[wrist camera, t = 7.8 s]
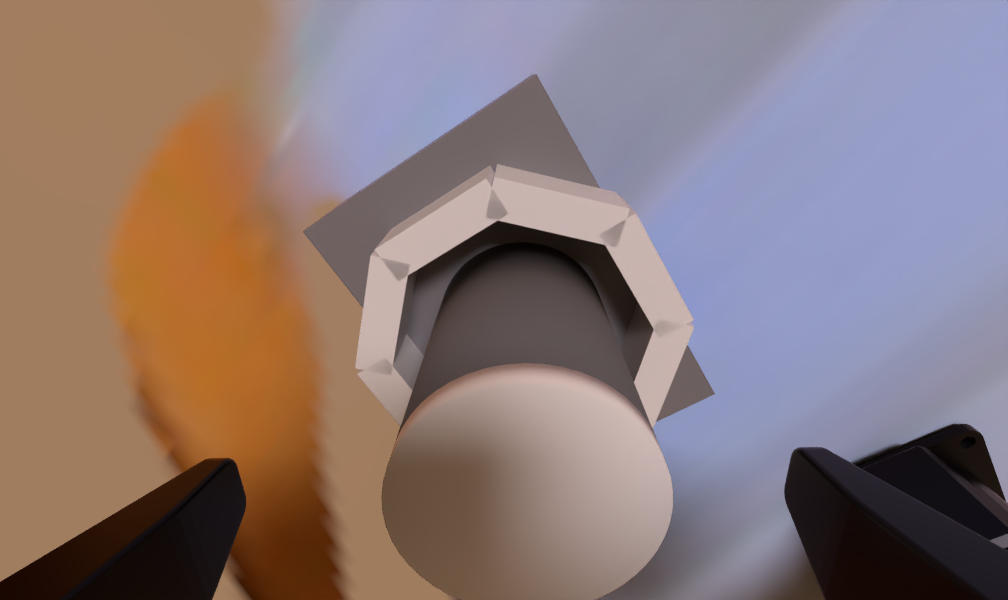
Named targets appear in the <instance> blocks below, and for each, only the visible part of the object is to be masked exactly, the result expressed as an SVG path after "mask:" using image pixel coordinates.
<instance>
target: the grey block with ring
mask: <svg viewBox="0 0 1008 600" xmlns="http://www.w3.org/2000/svg"><path fill="white" fill-rule="evenodd" d="M303 232H304V234H305V235H306V236H307V237H308V239H309V240H310V241H311V243H312V244H313V245H314V246H315V248H316V249H317V250H318V251H319V253H320V254H321V255H322V257H323V258H324V259H325V260H326V261H327V263H328V264H329V265H330V266H331V268H332V269H333V270H334V272H335V273H336V274H337V276H338V277H339V278H340V279H341V280H342V282H343V283H344V284H345V286H346V287H347V288H348V289H349V291H350V292H351V293H352V295H353V296H354V297H355V298H356V299H357V301H358V302H359V303H360V305H361V306H362V307H363V314H362V321H361V328H360V336H359V344H358V351H357V358H356V366H355V368H356V369H360V370H359V372H358V373H357V375H358V376H359V377H360V379H361V380H362V381H363V382H364V383H365V384H366V386H367V387H368V388H369V389H370V390H371V392H372V393H373V394H374V395H375V396H376V398H377V399H378V400H379V401H380V402H381V403H382V405H383V406H384V407H385V408H386V410H387V411H388V412H389V413H390V414H391V415H392V417H393V418H394V419H395V420H396V422H397V423H398V424H399V425H400V426H401V424H402V421H403V418H404V415H405V412H406V409H407V406H408V403H409V400H410V397H411V394H412V391H413V388H414V385H415V381H416V378H417V375H418V372H419V369H420V366H421V363H422V360H423V357H424V354H425V351H426V348H427V345H428V342H429V339H430V336H431V333H432V330H433V327H434V324H435V321H436V318H437V315H438V312H439V309H440V306H441V303H442V300H443V297H444V294H445V291H446V289H447V287H448V285H449V283H450V281H451V280H452V278H453V276H454V275H455V274H456V273H457V271H458V270H459V269H460V268H461V267H462V266H463V265H464V264H465V263H466V262H467V261H468V260H470V259H471V258H473V257H474V256H476V255H477V254H479V253H481V252H483V251H485V250H487V249H489V248H492V247H495V246H498V245H502V244H507V243H516V242H528V243H536V244H542V245H545V246H549V247H552V248H554V249H557V250H559V251H561V252H563V253H565V254H566V255H568V256H569V257H571V258H572V259H574V260H575V261H576V262H577V263H578V264H580V265H581V266H582V268H583V269H584V270H585V271H586V272H587V273H588V275H589V276H590V278H591V279H592V280H593V282H594V284H595V286H596V288H597V290H598V293H599V296H600V298H601V301H602V303H603V306H604V308H605V311H606V313H607V316H608V318H609V321H610V323H611V326H612V328H613V331H614V333H615V336H616V338H617V341H618V343H619V346H620V348H621V351H622V353H623V356H624V358H625V361H626V363H627V366H628V369H629V371H630V374H631V376H632V379H633V381H634V384H635V386H636V389H637V391H638V394H639V396H640V399H641V401H642V404H643V406H644V409H645V411H646V414H647V416H648V419H649V421H650V424H651V426H652V429H653V427H654V425H655V422H657V421H659V420H661V419H663V418H665V417H667V416H669V415H672V414H674V413H676V412H678V411H680V410H682V409H684V408H686V407H688V406H690V405H693V404H695V403H697V402H699V401H701V400H703V399H705V398H707V397H709V396H711V395H714V394H715V393H714V392H713V390H712V388H711V386H710V384H709V383H708V381H707V379H706V377H705V375H704V374H703V372H702V370H701V368H700V366H699V365H698V363H697V361H696V359H695V358H694V356H693V354H692V352H691V350H690V349H689V347H688V345H687V344H688V341H689V339H690V337H691V334H692V332H693V329H694V326H693V325H692V323H691V322H692V321H694V319H693V318H692V316H691V314H690V312H689V310H688V308H687V306H686V305H685V303H684V301H683V299H682V297H681V295H680V294H679V292H678V290H677V288H676V286H675V284H674V283H673V281H672V279H671V277H670V275H669V273H668V271H667V270H666V268H665V266H664V264H663V262H662V260H661V259H660V257H659V255H658V253H657V251H656V249H655V248H654V246H653V244H652V242H651V240H650V238H649V236H648V235H647V233H646V231H645V229H644V227H643V225H642V224H641V222H640V220H639V218H638V216H637V214H636V213H635V212H634V211H633V209H632V208H631V207H630V206H629V205H628V204H627V202H626V201H625V200H624V199H623V198H622V197H621V196H620V197H619V195H618V194H617V193H616V192H613V191H609V190H605V189H601V188H600V187H599V186H598V184H597V182H596V180H595V179H594V177H593V175H592V173H591V171H590V170H589V168H588V166H587V164H586V162H585V161H584V159H583V157H582V155H581V153H580V152H579V150H578V148H577V146H576V145H575V143H574V141H573V139H572V137H571V136H570V134H569V132H568V130H567V128H566V127H565V125H564V123H563V121H562V119H561V118H560V116H559V114H558V112H557V110H556V109H555V107H554V105H553V103H552V102H551V100H550V98H549V96H548V94H547V93H546V91H545V89H544V87H543V85H542V84H541V82H540V80H539V78H538V76H537V75H532V76H530V77H529V78H527V79H526V80H524V81H523V82H521V83H520V84H518V85H517V86H515V87H514V88H512V89H511V90H509V91H508V92H506V93H505V94H503V95H502V96H500V97H499V98H497V99H496V100H494V101H493V102H491V103H490V104H488V105H487V106H485V107H484V108H482V109H481V110H480V111H478V112H477V113H475V114H474V115H472V116H471V117H469V118H468V119H466V120H465V121H463V122H462V123H460V124H459V125H457V126H456V127H454V128H453V129H451V130H450V131H448V132H447V133H445V134H444V135H442V136H441V137H439V138H438V139H436V140H435V141H433V142H432V143H430V144H429V145H428V146H426V147H425V148H423V149H422V150H420V151H419V152H417V153H416V154H414V155H413V156H411V157H410V158H408V159H407V160H405V161H404V162H402V163H401V164H399V165H398V166H396V167H395V168H393V169H392V170H390V171H389V172H387V173H386V174H384V175H383V176H381V177H380V178H378V179H377V180H376V181H374V182H373V183H371V184H370V185H368V186H367V187H365V188H364V189H362V190H361V191H359V192H358V193H356V194H355V195H353V196H352V197H350V198H349V199H347V200H346V201H344V202H343V203H341V204H340V205H338V206H337V207H336V208H334V209H333V210H332V211H330V212H329V213H327V214H326V215H325V216H323V217H322V218H321V219H319V220H318V221H316V222H315V223H314V224H312V225H311V226H310V227H308V228H307V229H305V230H304V231H303Z"/></svg>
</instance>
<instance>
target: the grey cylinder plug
mask: <svg viewBox="0 0 1008 600" xmlns="http://www.w3.org/2000/svg"><path fill="white" fill-rule="evenodd" d="M382 510H383V516H384V520H385V524H386V528H387V530H388V532H389V535H390V537H391V540H392V542H393V543H394V545H395V547H396V548H397V550H398V551H399V553H400V554H401V556H402V557H403V558H404V559H405V560H406V562H407V563H408V564H409V566H411V567H412V568H413V569H414V570H415V571H416V572H417V573H418V574H419V575H420V576H421V577H423V578H424V579H425V580H426V581H428V582H429V583H431V584H432V585H433V586H435V587H437V588H438V589H440V590H442V591H443V592H445V593H447V594H449V595H451V596H453V597H456V598H458V599H460V600H595V599H598V598H600V597H602V596H604V595H606V594H608V593H610V592H612V591H614V590H615V589H617V588H618V587H620V586H622V585H623V584H625V583H626V582H627V581H629V580H630V579H631V578H632V577H634V576H635V575H636V574H637V573H638V572H639V571H640V570H641V569H642V568H643V567H644V566H645V565H646V564H647V563H648V562H649V561H650V560H651V558H652V557H653V556H654V554H655V553H656V552H657V550H658V549H659V547H660V545H661V543H662V541H663V539H664V538H665V535H666V533H667V530H668V527H669V524H670V520H671V515H672V510H673V489H672V482H671V477H670V474H669V471H668V467H667V464H666V462H665V459H664V457H663V454H662V452H661V449H660V447H659V444H658V441H657V439H656V436H655V434H654V431H653V429H652V426H651V424H650V421H649V419H648V416H647V414H646V411H645V409H644V406H643V404H642V401H641V399H640V396H639V394H638V391H637V389H636V386H635V384H634V381H633V379H632V376H631V374H630V371H629V369H628V366H627V363H626V361H625V358H624V356H623V353H622V351H621V348H620V346H619V343H618V341H617V338H616V336H615V333H614V331H613V328H612V326H611V323H610V321H609V318H608V316H607V313H606V311H605V308H604V306H603V303H602V301H601V298H600V296H599V293H598V290H597V288H596V286H595V284H594V282H593V280H592V279H591V278H590V276H589V275H588V273H587V272H586V271H585V270H584V269H583V268H582V266H581V265H580V264H578V263H577V262H576V261H575V260H574V259H572V258H571V257H569V256H568V255H566V254H565V253H563V252H561V251H559V250H557V249H554V248H552V247H549V246H545V245H542V244H536V243H528V242H516V243H507V244H502V245H498V246H495V247H492V248H489V249H487V250H485V251H483V252H481V253H479V254H477V255H476V256H474V257H473V258H471V259H470V260H468V261H467V262H466V263H465V264H464V265H463V266H462V267H461V268H460V269H459V270H458V271H457V273H456V274H455V275H454V276H453V278H452V280H451V281H450V283H449V285H448V287H447V289H446V291H445V294H444V297H443V300H442V303H441V306H440V309H439V312H438V315H437V318H436V321H435V324H434V327H433V330H432V333H431V336H430V339H429V342H428V345H427V348H426V351H425V354H424V357H423V360H422V363H421V366H420V369H419V372H418V375H417V378H416V381H415V385H414V388H413V391H412V394H411V397H410V400H409V403H408V406H407V409H406V412H405V415H404V418H403V421H402V424H401V427H400V430H399V433H398V436H397V439H396V442H395V445H394V448H393V451H392V454H391V457H390V460H389V463H388V466H387V470H386V473H385V477H384V481H383V488H382Z"/></svg>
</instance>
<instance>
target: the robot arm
mask: <svg viewBox="0 0 1008 600" xmlns="http://www.w3.org/2000/svg"><path fill="white" fill-rule="evenodd" d="M964 438H965V439H964ZM784 494H785V500H786V504H787V507H788V509H789V512H790V514H791V517H792V519H793V522H794V524H795V527H796V529H797V532H798V534H799V537H800V539H801V542H802V544H803V547H804V549H805V552H806V554H807V557H808V559H809V562H810V564H811V567H812V569H813V572H814V574H815V577H816V579H817V582H818V584H819V586H820V589H821V591H822V593H823V596H824V598H825V600H1008V503H1007V502H1006V500H1005V497H1004V495H1003V492H1002V489H1001V486H1000V483H999V480H998V478H997V475H996V472H995V469H994V466H993V463H992V461H991V458H990V455H989V452H988V449H987V447H986V444H985V441H984V438H983V436H982V435H981V433H980V432H978V431H977V430H976V429H975V428H973V427H972V426H970V425H968V424H959V425H956V426H953V427H951V428H948V429H946V430H944V431H941V432H939V433H936V434H934V435H932V436H929V437H927V438H924V439H922V440H920V441H917V442H915V443H912V444H910V445H908V446H905V447H903V448H900V449H898V450H896V451H893V452H891V453H888V454H886V455H884V456H881V457H879V458H876V459H874V460H872V461H869V462H867V463H864V464H862V465H860V466H856V465H854V464H852V463H850V462H848V461H847V460H845V459H843V458H841V457H839V456H838V455H836V454H834V453H832V452H831V451H829V450H827V449H825V448H822V447H800V448H797V449H795V450H794V451H793V453H792V455H791V459H790V464H789V469H788V473H787V478H786V483H785V489H784ZM245 508H246V496H245V492H244V488H243V485H242V481H241V478H240V475H239V471H238V468H237V465H236V463H235V462H234V460H232V459H230V458H210V459H206V460H203V461H202V462H200V463H198V464H197V465H195V466H193V467H192V468H190V469H188V470H186V471H185V472H183V473H181V474H180V475H178V476H176V477H175V478H173V479H171V480H170V481H168V482H166V483H165V484H163V485H161V486H160V487H158V488H156V489H155V490H153V491H151V492H150V493H148V494H146V495H145V496H143V497H141V498H140V499H138V500H136V501H135V502H133V503H131V504H130V505H128V506H126V507H125V508H123V509H121V510H120V511H118V512H116V513H115V514H113V515H111V516H110V517H108V518H106V519H105V520H103V521H101V522H100V523H98V524H97V525H95V526H93V527H91V528H90V529H88V530H86V531H85V532H83V533H81V534H79V535H78V536H76V537H75V538H73V539H71V540H69V541H68V542H66V543H64V544H63V545H61V546H59V547H58V548H56V549H54V550H53V551H51V552H49V553H48V554H46V555H44V556H43V557H41V558H39V559H38V560H36V561H34V562H33V563H31V564H29V565H28V566H26V567H24V568H23V569H21V570H19V571H18V572H16V573H14V574H13V575H11V576H9V577H7V578H6V579H4V580H2V581H1V582H0V600H212V598H213V596H214V593H215V591H216V588H217V586H218V583H219V580H220V577H221V575H222V572H223V570H224V567H225V564H226V561H227V559H228V556H229V553H230V551H231V548H232V545H233V542H234V540H235V537H236V534H237V532H238V529H239V526H240V524H241V521H242V518H243V515H244V512H245Z"/></svg>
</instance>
